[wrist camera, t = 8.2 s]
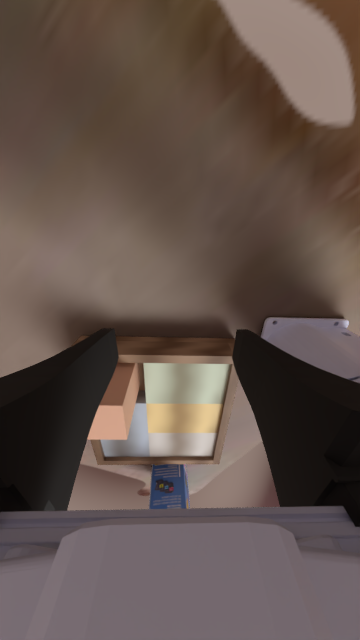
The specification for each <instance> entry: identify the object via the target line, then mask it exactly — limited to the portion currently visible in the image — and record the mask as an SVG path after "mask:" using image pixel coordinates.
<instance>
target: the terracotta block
mask: <svg viewBox="0 0 360 640" xmlns="http://www.w3.org/2000/svg"><path fill="white" fill-rule="evenodd" d="M139 386H140V374H139V363H117V365H116V369H115V372H114V374H113V376H112V379H111V381H110V383H109V385H108V387H107V390H106V392H105V394H104V396H103V398H102V400H101V403H100V405H99V407H98V410H97V412H96V414H95V417H94V420H93V423H92V426H91V429H90V432H89V435H88V438H87V439H95V440H127V438H128V434H129V429H130V425H131V421H132V416H133V412H134V408H135V403H136V399H137V395H138V391H139Z"/></svg>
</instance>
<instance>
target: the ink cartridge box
mask: <svg viewBox="0 0 360 640" xmlns="http://www.w3.org/2000/svg"><path fill="white" fill-rule="evenodd" d="M149 509H190V504H189V490H188V478H187V470H186V464H152V472H151V486H150V500H149Z"/></svg>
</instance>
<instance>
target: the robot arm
mask: <svg viewBox="0 0 360 640" xmlns="http://www.w3.org/2000/svg"><path fill="white" fill-rule="evenodd" d="M273 321H275V323H273ZM335 322H336V323H335ZM334 323H335V324H334ZM348 324H349V321H348V320H346V319H328V318H282V317H269V318H267V319H266V320H265V322H264V326H263V330H262V334H261V337H260V336H258V335H256V334H255V333H253V332H251V331H249V330H237V332H236V338H235V343H234V349H233V355H232V360H233V363H234V367H235V370H236V373H237V376H238V378H239V380H240V383H241V385H242V387H243V389H244V392H245V394H246V396H247V398H248V401H249V403H250V405H251V408H252V410H253V413H254V415H255V419H256V422H257V425H258V428H259V431H260V434H261V437H262V441H263V444H264V447H265V451H266V454H267V458H268V461H269V465H270V469H271V472H272V476H273V480H274V484H275V488H276V492H277V496H278V500H279V504H280V507H255V508H254V507H253V508H195V509H194V508H192V509H138V510H135V509H134V510H80V511H79V510H76V511H67V508H68V504H69V501H70V497H71V493H72V489H73V485H74V482H75V478H76V474H77V471H78V468H79V464H80V461H81V457H82V454H83V451H84V448H85V445H86V441H87V438H88V435H89V432H90V429H91V426H92V423H93V420H94V417H95V414H96V412H97V410H98V407H99V405H100V403H101V400H102V398H103V396H104V394H105V392H106V390H107V387H108V385H109V383H110V381H111V379H112V376H113V374H114V372H115V369H116V365H117V362H118V358H119V355H118V349H117V343H116V336H115V330H114V329H107V328H104V329H101V330H99V331H98V332H96V333H94V334H92V335H91V336H89V337H87V338H86V339H84V340H82V341H80V342H79V343H77V344H75V345H73V346H72V347H70V348H68V349H66V350H64V351H62V352H60V353H59V354H57V355H55V356H53V357H51V358H49V359H46V360H44V361H42V362H40V363H37V364H35V365H33V366H30V367H28V368H25V369H23V370H20V371H17V372H15V373H12V374H9V375H7V376H4V377H1V378H0V640H360V336H358V335H356V334H354V333H353V332H351V331H349V330H348V329H346V328H347V326H348Z"/></svg>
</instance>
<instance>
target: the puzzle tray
mask: <svg viewBox="0 0 360 640" xmlns="http://www.w3.org/2000/svg"><path fill="white" fill-rule="evenodd" d="M87 337H89V336H80V337H79V339H78V340H77V341H76V342H75V343H74V344H73V345H75V344H77V343H79V342H80V341H82V340H84V339H86V338H87ZM116 343H117V349H118V355H119V358H118V362H117V363H139V374H140V386H139V391H138V395H137V399H136V403H135V408H134V412H133V416H132V421H131V425H130V429H129V434H128V438H127V440H95V439H90V440H91V443H92V447H93V450H94V453H95V457H96V460H97V464H98V465H139V464H219V463H220V458H221V454H222V450H223V445H224V441H225V437H226V432H227V428H228V424H229V419H230V415H231V411H232V406H233V402H234V398H235V393H236V389H237V385H238V380H239V378H238V376H237V373H236V370H235V367H234V363H233V360H232V355H233V349H234V343H235V339H234V338H183V337H127V336H116ZM73 345H72V346H73ZM72 346H71V347H72Z"/></svg>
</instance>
